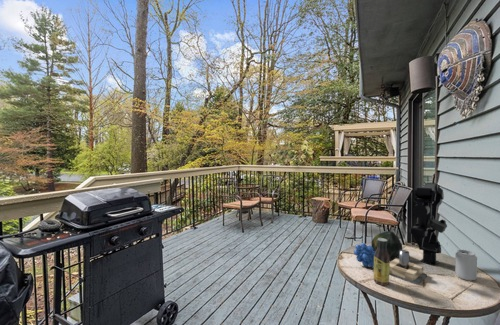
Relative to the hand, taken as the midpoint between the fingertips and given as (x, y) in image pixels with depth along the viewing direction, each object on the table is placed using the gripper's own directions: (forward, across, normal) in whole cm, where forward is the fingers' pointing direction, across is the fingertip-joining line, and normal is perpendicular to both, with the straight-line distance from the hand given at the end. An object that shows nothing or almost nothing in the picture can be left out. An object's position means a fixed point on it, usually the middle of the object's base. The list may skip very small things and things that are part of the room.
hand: (424, 245), depth 120 cm
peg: (+12, -10, +5) cm, 16 cm away
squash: (+13, +6, +20) cm, 25 cm away
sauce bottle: (+13, -26, +8) cm, 30 cm away
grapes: (+13, -17, +20) cm, 29 cm away
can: (+13, +8, -14) cm, 21 cm away
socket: (+13, -10, +5) cm, 17 cm away
